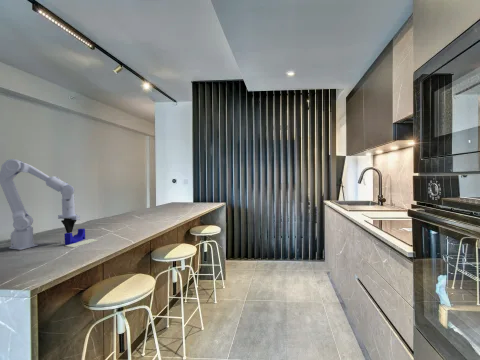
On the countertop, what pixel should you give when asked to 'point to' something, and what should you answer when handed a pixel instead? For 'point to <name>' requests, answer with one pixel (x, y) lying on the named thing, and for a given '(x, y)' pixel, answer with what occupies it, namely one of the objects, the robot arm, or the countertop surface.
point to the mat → (81, 243)
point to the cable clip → (74, 237)
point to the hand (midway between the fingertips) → (69, 232)
